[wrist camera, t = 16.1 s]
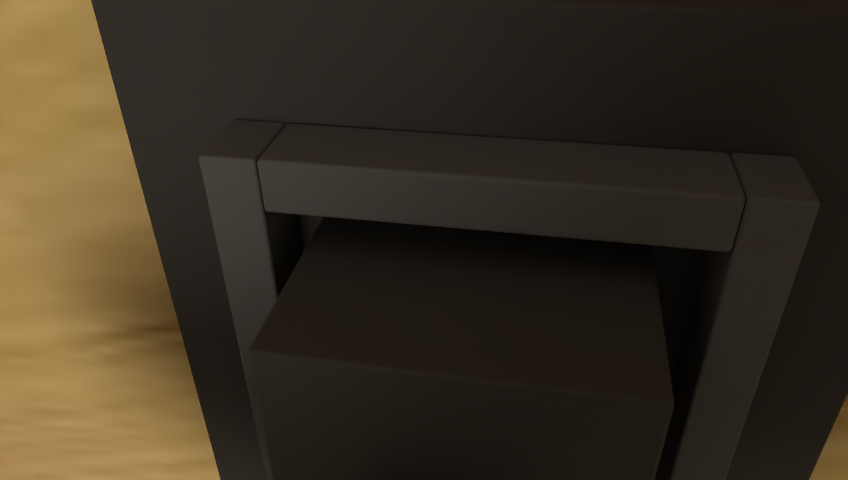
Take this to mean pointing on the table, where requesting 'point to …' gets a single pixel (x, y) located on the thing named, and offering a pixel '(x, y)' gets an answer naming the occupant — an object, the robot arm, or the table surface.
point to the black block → (463, 358)
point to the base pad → (514, 178)
